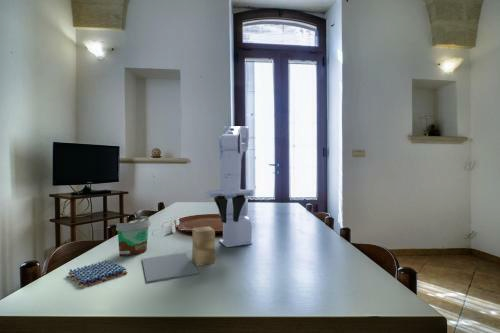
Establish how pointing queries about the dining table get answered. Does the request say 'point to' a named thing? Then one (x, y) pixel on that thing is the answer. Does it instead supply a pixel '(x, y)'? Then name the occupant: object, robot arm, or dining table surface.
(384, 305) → the dining table surface
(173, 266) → the grey rubber mat
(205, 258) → the wood block
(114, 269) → the woven mat
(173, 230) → the sunglasses
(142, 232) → the food container
